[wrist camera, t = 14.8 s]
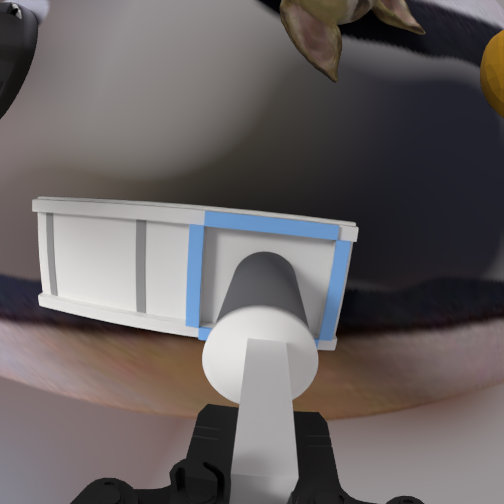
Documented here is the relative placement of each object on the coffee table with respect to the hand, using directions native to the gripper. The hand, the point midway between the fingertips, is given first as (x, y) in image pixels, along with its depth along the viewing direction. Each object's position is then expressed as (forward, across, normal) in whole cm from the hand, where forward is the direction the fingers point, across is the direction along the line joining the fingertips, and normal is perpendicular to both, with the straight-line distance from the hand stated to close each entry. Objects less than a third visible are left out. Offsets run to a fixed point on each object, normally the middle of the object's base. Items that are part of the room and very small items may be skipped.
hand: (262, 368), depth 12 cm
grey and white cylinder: (+11, 0, 0) cm, 11 cm away
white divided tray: (+12, -7, 0) cm, 14 cm away
